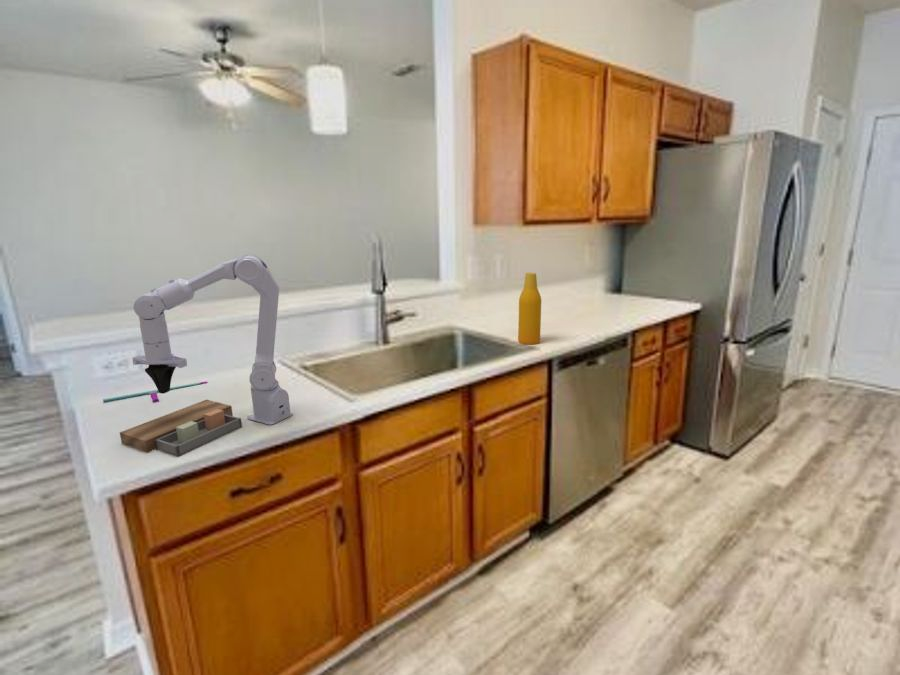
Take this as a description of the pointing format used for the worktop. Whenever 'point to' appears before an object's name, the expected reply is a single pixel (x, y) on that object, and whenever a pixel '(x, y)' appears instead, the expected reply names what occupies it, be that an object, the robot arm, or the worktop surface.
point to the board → (168, 424)
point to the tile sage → (187, 431)
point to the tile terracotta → (214, 419)
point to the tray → (205, 436)
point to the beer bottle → (529, 312)
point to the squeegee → (152, 393)
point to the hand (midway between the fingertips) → (164, 392)
